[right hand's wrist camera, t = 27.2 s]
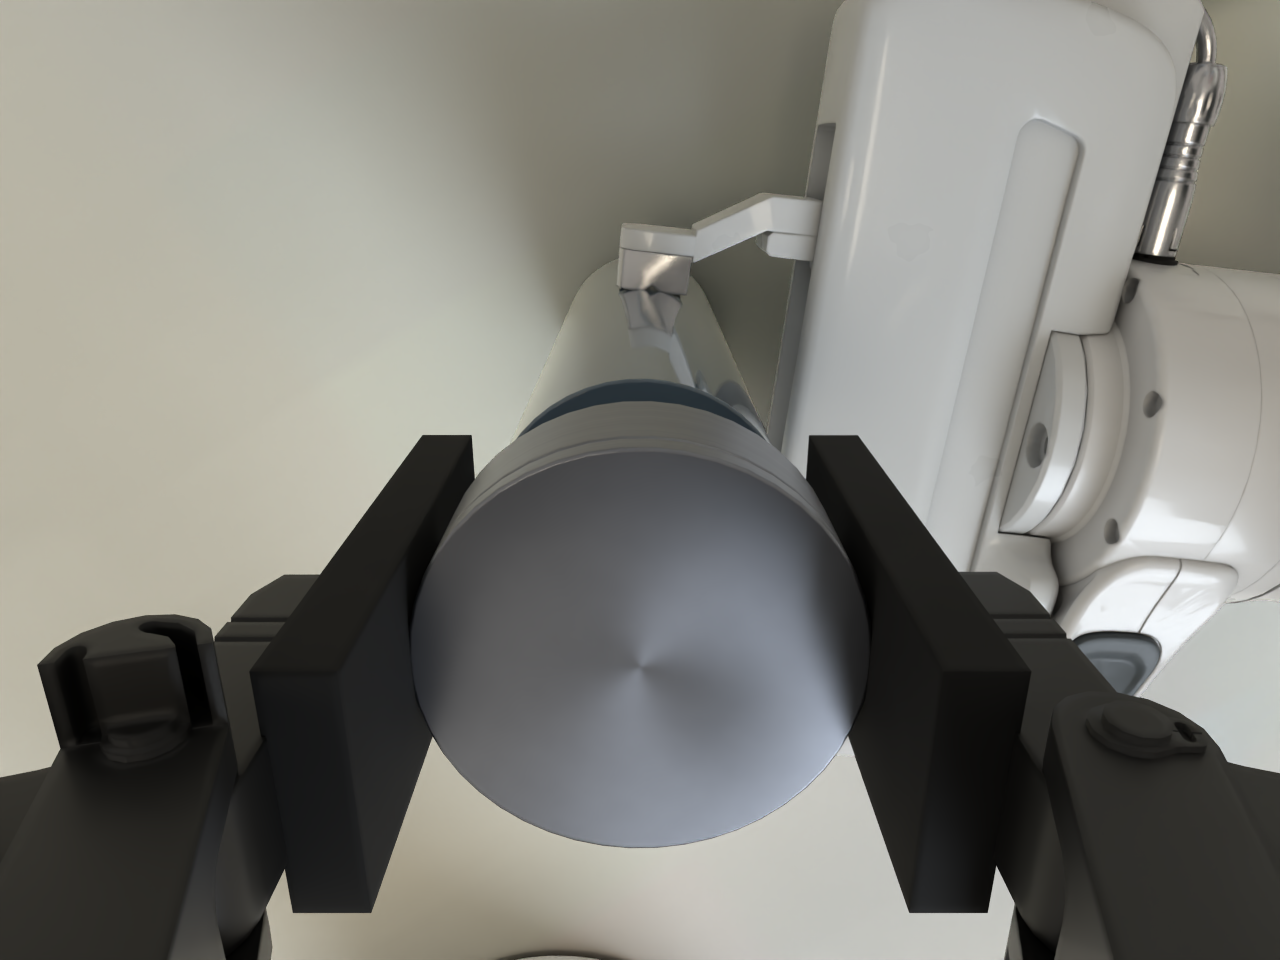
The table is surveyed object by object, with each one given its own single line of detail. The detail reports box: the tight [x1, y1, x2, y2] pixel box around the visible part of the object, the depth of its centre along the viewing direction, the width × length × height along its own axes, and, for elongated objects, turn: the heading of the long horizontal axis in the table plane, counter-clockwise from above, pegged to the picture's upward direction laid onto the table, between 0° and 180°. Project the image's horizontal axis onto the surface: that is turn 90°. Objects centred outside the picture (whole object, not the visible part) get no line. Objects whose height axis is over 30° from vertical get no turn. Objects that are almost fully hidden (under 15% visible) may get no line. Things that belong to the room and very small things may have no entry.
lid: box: [409, 401, 871, 848], centre depth 11 cm, size 5×5×2 cm
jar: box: [510, 259, 772, 445], centre depth 21 cm, size 5×5×18 cm
